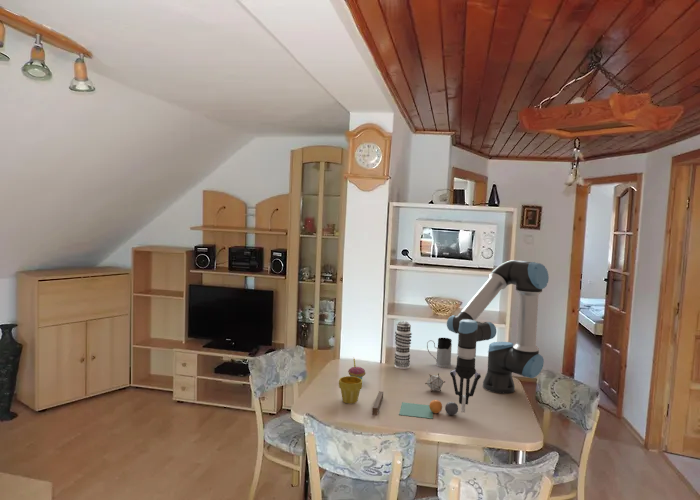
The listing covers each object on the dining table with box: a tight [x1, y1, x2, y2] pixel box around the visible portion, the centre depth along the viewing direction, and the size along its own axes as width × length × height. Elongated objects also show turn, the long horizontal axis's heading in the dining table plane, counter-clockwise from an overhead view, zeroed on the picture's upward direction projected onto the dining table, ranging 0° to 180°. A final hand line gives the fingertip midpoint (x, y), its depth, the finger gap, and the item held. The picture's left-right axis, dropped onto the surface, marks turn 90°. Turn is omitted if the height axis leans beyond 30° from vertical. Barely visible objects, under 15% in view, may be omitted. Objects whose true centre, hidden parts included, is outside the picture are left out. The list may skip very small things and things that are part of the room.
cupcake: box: [347, 358, 366, 380], centre depth 246 cm, size 9×8×12 cm
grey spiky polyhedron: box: [424, 373, 446, 393], centre depth 237 cm, size 9×8×10 cm
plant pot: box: [338, 375, 363, 405], centre depth 220 cm, size 10×10×10 cm
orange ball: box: [428, 399, 443, 414], centre depth 210 cm, size 6×6×6 cm
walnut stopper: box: [371, 390, 384, 416], centre depth 215 cm, size 2×20×3 cm, turn 169°
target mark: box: [398, 401, 434, 420], centre depth 212 cm, size 14×14×1 cm
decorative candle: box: [394, 320, 413, 370], centre depth 272 cm, size 9×9×25 cm
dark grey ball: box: [444, 401, 459, 416], centre depth 209 cm, size 6×6×6 cm
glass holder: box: [426, 337, 453, 369], centre depth 279 cm, size 9×14×15 cm, turn 80°
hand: (463, 411), depth 208 cm, fingers closed
